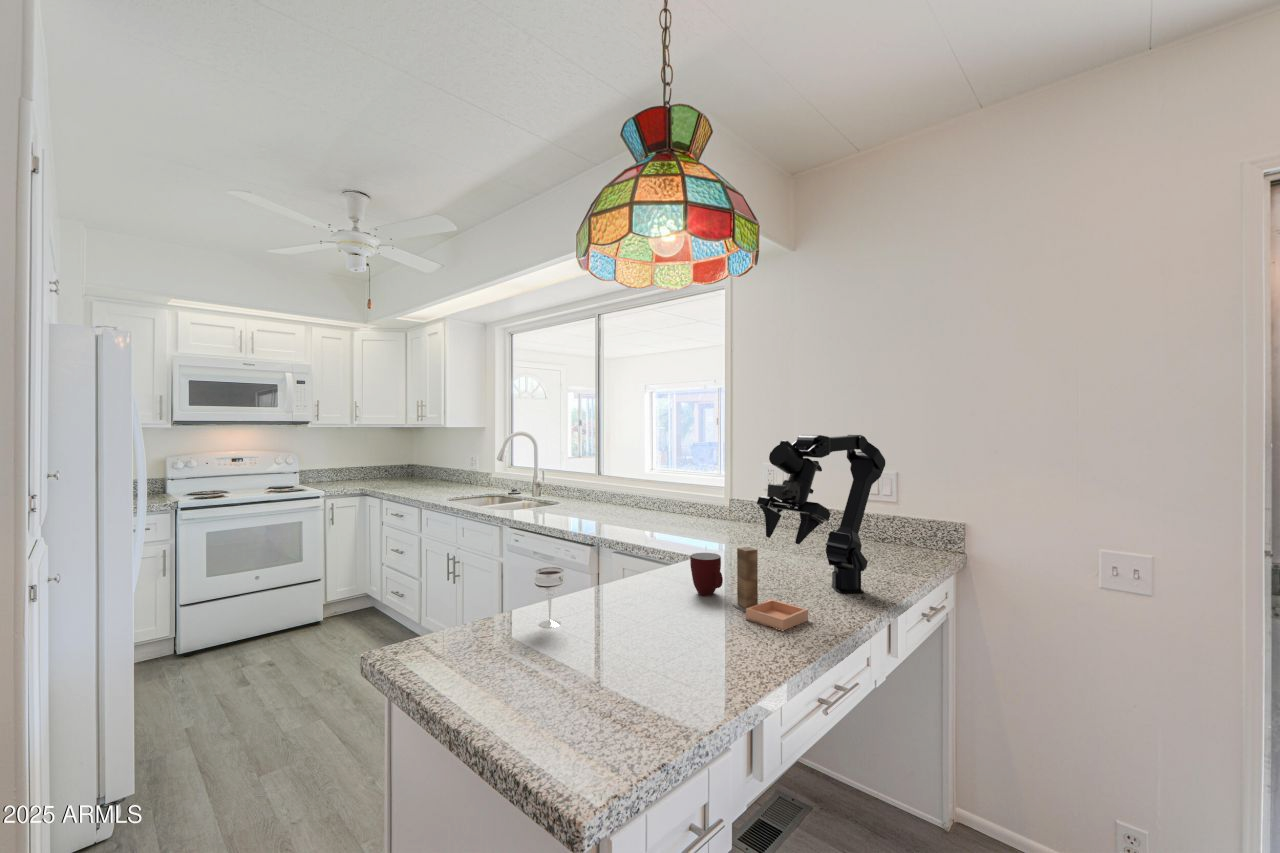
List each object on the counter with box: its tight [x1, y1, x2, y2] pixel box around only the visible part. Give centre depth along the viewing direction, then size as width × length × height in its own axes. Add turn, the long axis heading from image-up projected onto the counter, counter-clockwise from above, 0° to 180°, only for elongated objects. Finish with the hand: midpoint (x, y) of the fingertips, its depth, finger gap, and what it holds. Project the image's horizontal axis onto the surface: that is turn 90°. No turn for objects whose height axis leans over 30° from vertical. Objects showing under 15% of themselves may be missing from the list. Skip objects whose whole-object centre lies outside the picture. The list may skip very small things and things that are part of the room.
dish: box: [745, 598, 809, 631], centre depth 125 cm, size 10×10×2 cm
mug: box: [689, 552, 724, 597], centre depth 144 cm, size 11×8×10 cm
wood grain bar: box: [732, 546, 759, 613], centre depth 134 cm, size 5×5×14 cm
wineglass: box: [534, 566, 565, 629], centre depth 124 cm, size 7×7×12 cm
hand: (782, 540), depth 133 cm, fingers open, 9 cm apart
